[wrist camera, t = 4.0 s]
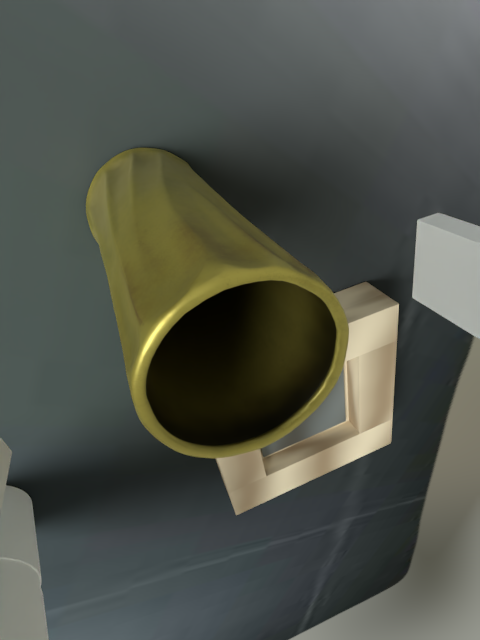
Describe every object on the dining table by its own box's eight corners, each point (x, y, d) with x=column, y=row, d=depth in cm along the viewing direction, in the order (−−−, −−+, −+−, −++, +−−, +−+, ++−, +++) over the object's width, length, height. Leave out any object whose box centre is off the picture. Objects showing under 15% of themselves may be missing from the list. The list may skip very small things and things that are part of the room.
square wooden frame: (222, 478, 33) (236, 515, 30) (177, 351, 25) (191, 384, 22) (365, 414, 36) (390, 442, 33) (365, 281, 28) (399, 303, 25)
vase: (226, 187, 21) (411, 309, 10) (173, 282, 23) (276, 484, 11) (119, 120, 18) (203, 185, 6) (66, 237, 20) (58, 455, 8)
